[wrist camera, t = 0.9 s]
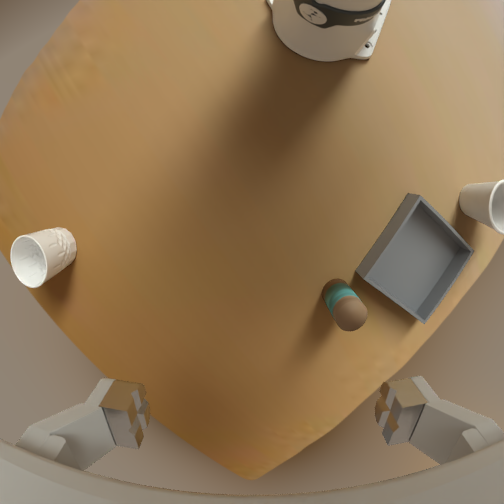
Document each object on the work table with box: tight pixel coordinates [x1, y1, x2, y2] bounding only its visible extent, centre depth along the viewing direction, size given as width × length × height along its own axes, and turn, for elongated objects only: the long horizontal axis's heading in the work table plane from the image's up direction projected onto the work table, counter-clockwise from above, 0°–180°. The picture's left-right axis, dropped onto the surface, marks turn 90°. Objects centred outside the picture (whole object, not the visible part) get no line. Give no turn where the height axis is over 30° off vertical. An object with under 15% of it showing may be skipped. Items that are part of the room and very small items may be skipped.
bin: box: [355, 193, 474, 324], centre depth 45 cm, size 15×15×4 cm
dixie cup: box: [459, 180, 504, 234], centre depth 39 cm, size 8×8×10 cm
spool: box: [322, 279, 367, 331], centre depth 44 cm, size 4×4×9 cm
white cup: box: [11, 227, 77, 288], centre depth 41 cm, size 8×8×10 cm
